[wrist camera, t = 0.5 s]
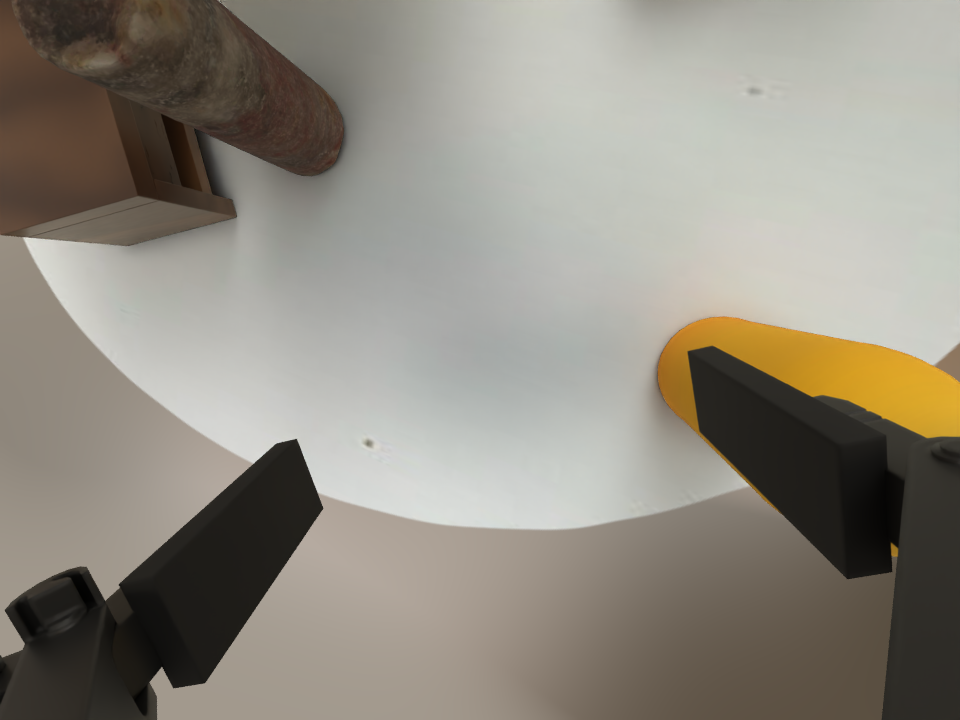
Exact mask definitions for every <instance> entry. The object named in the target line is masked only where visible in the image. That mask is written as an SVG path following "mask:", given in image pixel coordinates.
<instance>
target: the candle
mask: <svg viewBox="0 0 960 720" xmlns="http://www.w3.org/2000/svg"><path fill="white" fill-rule="evenodd" d="M12 7H13V12H14V14H15V16H16V18H17V20H18V23H19V26H20V28H21V30H22V33H23V35H24V36H25V38H26V39H27V40H28V42H29V45H30V46H31V47H32V48H33V49H34V50H35V51H36V52H37V53H38V54H39V55H40V57H42V58H44V59H45V60H47V61H49V62H50V63H52V64H53V65H55V66H56V67H58V68H60V69H62V70H64V71H66V72H69V73H71V74H73V75H76V76H79V77H81V78H83V79H85V80H87V81H90V82H92V83H94V84H96V85H98V86H100V87H103V88H105V89H107V90H110V91H112V92H114V93H117V94H119V95H121V96H123V97H126V98H128V99H130V100H133V101H135V102H137V103H140V104H142V105H144V106H146V107H148V108H151V109H153V110H155V111H157V112H159V113H161V114H163V115H166V116H168V117H170V118H172V119H174V120H176V121H179V122H182V123H184V124H187V125H189V126H191V127H193V128H195V129H197V130H200V131H202V132H204V133H206V134H208V135H210V136H212V137H215V138H217V139H219V140H221V141H223V142H225V143H228V144H230V145H232V146H234V147H236V148H238V149H241V150H243V151H245V152H248V153H250V154H252V155H254V156H256V157H258V158H260V159H263V160H265V161H267V162H269V163H272V164H274V165H276V166H278V167H281V168H283V169H285V170H288V171H290V172H293V173H295V174H298V175H302V176H314V175H317V174H320V173H322V172H323V171H325V170H327V169H328V168H329V167H331V166H332V165H333V164H334V163H335V161H336V159H337V156H338V152H339V150H340V147H341V143H342V139H343V134H344V128H343V121H342V116H341V114H340V112H339V110H338V107H337V105H336V104H335V102H334V101H333V99H332V98H331V97H330V96H329V95H328V94H327V92H326V91H325V90H324V89H323V88H321V87H320V86H319V85H318V84H317V83H315V82H314V81H313V80H312V79H311V78H310V77H309V76H307V75H306V74H305V73H304V72H303V71H301V70H300V69H299V68H298V67H297V66H295V65H294V64H293V63H292V62H290V61H289V60H288V59H287V58H286V57H285V56H283V55H282V54H281V53H280V52H278V51H277V50H276V49H275V48H273V47H272V46H271V45H270V44H269V43H268V42H266V41H265V40H264V39H263V38H261V37H260V36H259V35H258V34H257V33H255V32H254V31H253V30H252V29H251V28H249V27H248V26H247V25H245V24H244V23H243V22H242V21H241V20H239V19H238V18H237V17H236V16H235V15H234V14H233V13H232V12H230V11H229V10H228V9H227V8H226V7H224V6H223V5H222V4H221V3H220V2H218V1H217V0H12Z"/></svg>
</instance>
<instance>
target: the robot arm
mask: <svg viewBox="0 0 960 720" xmlns="http://www.w3.org/2000/svg"><path fill="white" fill-rule="evenodd" d="M687 353H688V359H689V366H690V373H691V379H692V386H693V393H694V399H695V406H696V413H697V420H698V426H699V432H700V433H701V434H702V435H703V436H704V437H705V438H706V439H707V440H708V441H709V442H710V443H711V444H712V445H713V446H714V447H715V448H716V449H717V450H718V451H719V452H720V453H721V454H722V455H723V456H724V457H725V458H726V459H727V460H728V461H729V462H730V463H731V464H732V465H733V466H734V467H735V468H736V469H737V470H738V471H739V472H740V473H741V474H742V475H743V476H744V477H745V478H746V479H747V480H748V481H749V482H750V483H751V484H752V485H753V486H754V487H755V488H756V489H757V490H758V491H759V492H760V493H761V494H762V495H763V496H764V497H765V498H766V499H767V500H768V501H769V502H770V503H771V504H772V505H773V506H774V507H775V508H776V509H777V510H778V511H779V512H780V513H781V514H782V515H784V516H785V518H786V519H788V520H789V521H790V522H791V523H792V524H793V525H794V526H795V527H796V528H797V529H798V530H799V531H800V532H801V533H802V534H803V535H804V536H805V537H806V538H807V539H808V540H809V541H810V542H811V543H812V544H813V545H814V546H815V547H816V548H817V549H818V550H819V551H820V552H821V553H822V554H823V555H824V556H825V557H826V558H827V559H828V560H829V561H830V562H831V563H832V564H833V565H834V566H835V567H836V568H837V569H838V570H839V571H840V572H841V573H842V574H843V575H844V576H845V577H846V578H847V579H852V578H858V577H864V576H871V575H877V574H883V573H889V572H892V558H891V557H892V556H891V543H892V544H893V545H894V546H896V547H897V548H898V557H897V568H896V578H895V589H894V599H893V609H892V619H891V630H890V640H889V650H888V661H887V671H886V682H885V692H884V702H883V712H882V720H960V437H949V436H940V437H933V438H926V437H924V436H922V435H920V434H918V433H915V432H913V431H911V430H909V429H907V428H905V427H903V426H901V425H899V424H896V423H894V422H892V421H890V420H888V419H886V418H885V419H882V416H880V415H877V414H875V413H873V412H871V411H866V409H865V408H863V407H860V406H858V405H856V404H854V403H852V402H850V401H848V400H844V399H839V398H835V397H830V396H826V395H819V396H815V397H811V396H809V395H808V394H806V393H804V392H802V391H800V390H798V389H796V388H794V387H792V386H790V385H788V384H786V383H784V382H782V381H780V380H778V379H777V378H775V377H773V376H771V375H769V374H767V373H765V372H763V371H761V370H759V369H757V368H755V367H753V366H751V365H749V364H747V363H746V362H744V361H742V360H740V359H738V358H736V357H734V356H732V355H730V354H728V353H726V352H724V351H722V350H720V349H718V348H716V347H715V346H708V347H704V348H699V349H695V350H690V351H687ZM322 510H323V506H322V504H321V501H320V498H319V496H318V493H317V490H316V488H315V485H314V483H313V480H312V477H311V475H310V472H309V470H308V467H307V464H306V462H305V459H304V456H303V454H302V451H301V449H300V446H299V443H298V441H297V439H294V440H290V441H285V442H281V443H277V444H275V445H274V446H273V447H272V448H271V449H270V450H269V451H267V452H266V453H265V454H264V455H263V456H262V457H261V458H260V459H259V460H257V461H256V462H255V463H254V464H253V465H252V466H251V467H250V468H249V469H247V470H246V471H245V472H244V473H243V474H242V475H241V476H239V477H238V478H237V479H236V480H235V481H234V482H233V483H232V484H230V485H229V486H228V487H227V488H226V489H225V490H224V491H223V492H222V493H220V494H219V495H218V496H217V497H216V498H215V499H214V500H213V501H212V502H210V503H209V504H208V505H207V506H206V507H205V508H204V509H202V510H201V511H200V512H199V513H198V514H197V515H196V516H195V517H194V518H192V519H191V520H190V521H189V522H188V523H187V524H186V525H185V526H183V527H182V528H181V529H180V530H179V531H178V532H177V533H176V534H175V535H173V536H172V537H171V538H170V539H169V540H168V541H167V542H166V543H164V544H163V545H162V546H161V547H160V548H159V549H158V550H157V551H155V552H154V553H153V554H152V555H151V556H150V557H149V558H148V559H147V560H146V561H144V562H143V563H142V564H141V565H140V566H139V567H138V568H136V569H135V570H134V571H133V572H132V573H131V574H130V575H129V576H128V577H126V578H125V579H124V580H123V581H122V582H121V583H120V584H119V586H120V588H119V589H118V590H117V591H116V592H115V593H114V594H113V595H111V596H110V597H109V598H108V599H107V600H106V601H105V600H104V598H103V596H102V594H101V592H100V591H99V589H98V587H97V585H96V583H95V581H94V580H93V578H92V576H91V574H90V572H89V570H88V569H87V567H77V568H73V569H69V570H66V571H64V572H61V573H59V574H57V575H54V576H52V577H50V578H48V579H46V580H44V581H43V582H40V583H39V584H37V585H35V586H34V587H32V588H31V589H29V590H27V591H26V592H24V593H23V594H21V595H20V596H19V597H18V598H16V599H15V600H14V601H12V602H11V603H10V605H9V606H8V607H7V608H6V609H5V612H6V613H7V615H8V617H9V618H10V620H11V622H12V623H13V625H14V627H15V628H16V630H17V632H18V633H19V635H20V636H21V638H22V640H23V641H24V643H25V645H24V648H23V650H21V651H19V652H16V653H14V654H11V655H9V656H6V657H3V658H2V657H1V656H0V720H157V696H156V695H155V692H154V690H153V688H152V686H151V685H150V683H149V682H150V681H151V680H152V678H153V677H154V676H155V675H156V673H157V672H158V671H159V669H160V668H161V667H163V669H164V671H165V673H166V675H167V677H168V679H169V681H170V683H171V684H172V686H173V688H179V687H185V686H191V685H197V684H203V683H205V682H206V681H207V679H208V678H209V677H210V675H211V674H212V672H213V671H214V669H215V668H216V666H217V665H218V663H219V662H220V660H221V659H222V657H223V656H224V654H225V653H226V651H227V650H228V648H229V647H230V646H231V644H232V643H233V641H234V640H235V638H236V637H237V635H238V634H239V632H240V631H241V629H242V628H243V626H244V625H245V623H246V622H247V620H248V619H249V617H250V616H251V614H252V613H253V612H254V610H255V609H256V607H257V606H258V604H259V603H260V601H261V600H262V598H263V597H264V595H265V594H266V592H267V591H268V589H269V588H270V586H271V585H272V583H273V582H274V580H275V579H276V578H277V576H278V574H279V573H280V572H281V570H282V569H283V567H284V566H285V564H286V563H287V561H288V560H289V558H290V557H291V555H292V554H293V552H294V551H295V550H296V548H297V546H298V545H299V544H300V542H301V541H302V539H303V538H304V536H305V535H306V533H307V532H308V530H309V529H310V527H311V526H312V524H313V523H314V521H315V520H316V518H317V517H318V516H319V514H320V512H321V511H322Z"/></svg>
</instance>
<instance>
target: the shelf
mask: <svg viewBox="0 0 960 720" xmlns="http://www.w3.org/2000/svg"><path fill="white" fill-rule="evenodd" d="M235 217H237V215H236V212H235V208H234V205H233V201H232V200H231V199H228V198H224V197H220V196H216V195H213V194H212V192H211V188H210V184H209V181H208V177H207V174H206V170H205V167H204V163H203V159H202V156H201V152H200V149H199V145H198V142H197V138H196V134H195V131H194V128H193V127H191V126H189V125H187V124H184V123H182V122H179V121H176V120H174V119H172V118H170V117H168V116H166V115H163V114H161V113H159V112H157V111H155V110H153V109H151V108H148V107H146V106H144V105H142V104H140V103H137V102H135V101H133V100H130V99H128V98H126V97H123V96H121V95H119V94H117V93H114V92H112V91H110V90H107V89H105V88H103V87H100V86H98V85H96V84H94V83H92V82H90V81H87V80H85V79H83V78H81V77H79V76H76V75H73V74H71V73H69V72H66V71H64V70H62V69H60V68H58V67H56V66H55V65H53V64H52V63H50V62H49V61H47V60H45V59H44V58H42V57H40V55H39V54H38V53H37V52H36V51H35V50H34V49H33V48H32V47H31V46H30V45H29V42H28V40H27V39H26V38H25V36H24V35H23V33H22V30H21V28H20V26H19V23H18V20H17V18H16V16H15V14H14V12H13V7H12V0H0V235H5V236H17V237H29V238H40V239H51V240H63V241H74V242H86V243H97V244H109V245H120V246H129V245H133V244H137V243H141V242H144V241H148V240H152V239H156V238H160V237H163V236H167V235H171V234H175V233H178V232H182V231H186V230H190V229H194V228H197V227H201V226H205V225H209V224H212V223H216V222H220V221H224V220H228V219H231V218H235Z"/></svg>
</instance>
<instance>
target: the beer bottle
mask: <svg viewBox="0 0 960 720" xmlns="http://www.w3.org/2000/svg"><path fill="white" fill-rule="evenodd" d="M708 346H715V347H716V348H718V349H720V350H722V351H724V352H726V353H728V354H730V355H732V356H734V357H736V358H738V359H740V360H742V361H744V362H746V363H747V364H749V365H751V366H753V367H755V368H757V369H759V370H761V371H763V372H765V373H767V374H769V375H771V376H773V377H775V378H777V379H778V380H780V381H782V382H784V383H786V384H788V385H790V386H792V387H794V388H796V389H798V390H800V391H802V392H804V393H806V394H808V395H809V396H811V397H815V396H819V395H826V396H830V397H835V398H839V399H844V400H848V401H850V402H852V403H854V404H856V405H858V406H860V407H863V408H865V409H866V411H871V412H873V413H875V414H877V415H880V416H882V419H885V418H886V419H888V420H890V421H892V422H894V423H896V424H899V425H901V426H903V427H905V428H907V429H909V430H911V431H913V432H915V433H918V434H920V435H922V436H924V437H926V438H933V437H940V436H949V437H960V383H959V382H958V381H957V380H956V379H954V378H953V377H952V376H951V375H949V374H947V373H945V372H943V371H942V370H940V369H938V368H936V367H934V366H932V365H930V364H928V363H927V362H925V361H923V360H921V359H918V358H916V357H913V356H911V355H908V354H905V353H902V352H899V351H896V350H893V349H889V348H886V347H882V346H878V345H874V344H867V343H860V342H855V341H849V340H844V339H839V338H834V337H828V336H823V335H818V334H813V333H807V332H802V331H797V330H792V329H786V328H781V327H776V326H771V325H765V324H760V323H755V322H750V321H746V320H743V319H739V318H732V317H712V318H707V319H703V320H699V321H697V322H694V323H692V324H690V325H688V326H686V327H684V328H683V329H681V330H680V331H679V332H678V333H676V334H675V335H674V336H673V337H672V338H671V340H670V341H669V342H668V344H667V345H666V346H665V348H664V350H663V352H662V354H661V357H660V361H659V364H658V381H659V387H660V390H661V393H662V395H663V397H664V399H665V401H666V402H667V404H668V406H669V407H670V408H671V409H672V410H673V411H674V413H675V414H676V415H677V416H679V417H680V418H681V419H682V420H684V421H685V422H686V423H687V424H688V425H689V426H690V427H691V428H692V429H693V430H694V431H695V432H696V433H697V434H698V435H699V436H700V437H701V438H702V439H703V440H704V441H705V442H706V443H707V444H708V445H709V446H710V447H711V448H712V449H713V450H714V451H715V452H716V453H717V454H718V455H720V456H721V457H722V458H723V459H724V460H725V461H726V462H727V463H728V464H729V465H730V466H731V467H732V468H733V469H734V470H735V471H736V472H737V473H738V474H739V475H740V476H741V477H742V478H743V479H744V480H745V481H746V482H747V483H748V484H749V485H750V486H751V487H752V488H753V489H754V490H755V491H756V492H757V493H758V494H759V495H760V496H761V497H762V498H763V499H764V500H765V501H766V502H767V503H768V504H770V505H771V506H772V507H773V508H775V507H774V506H773V505H772V504H771V503H770V502H769V501H768V500H767V499H766V498H765V497H764V496H763V495H762V494H761V493H760V492H759V491H758V490H757V489H756V488H755V487H754V486H753V485H752V484H751V483H750V482H749V481H748V480H747V479H746V478H745V477H744V476H743V475H742V474H741V473H740V472H739V471H738V470H737V469H736V468H735V467H734V466H733V465H732V464H731V463H730V462H729V461H728V460H727V459H726V458H725V457H724V456H723V455H722V454H721V453H720V452H719V451H718V450H717V449H716V448H715V447H714V446H713V445H712V444H711V443H710V442H709V441H708V440H707V439H706V438H705V437H704V436H703V435H702V434H701V433H700V432H699V426H698V420H697V413H696V406H695V399H694V393H693V386H692V379H691V373H690V366H689V359H688V353H687V351H690V350H695V349H699V348H704V347H708ZM775 509H776V508H775ZM776 510H777V509H776ZM777 511H778V510H777ZM778 512H779V511H778ZM779 513H780V512H779ZM891 556H895V557H898V548H897V547H896V546H894V545H893V544H892V543H891Z"/></svg>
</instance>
